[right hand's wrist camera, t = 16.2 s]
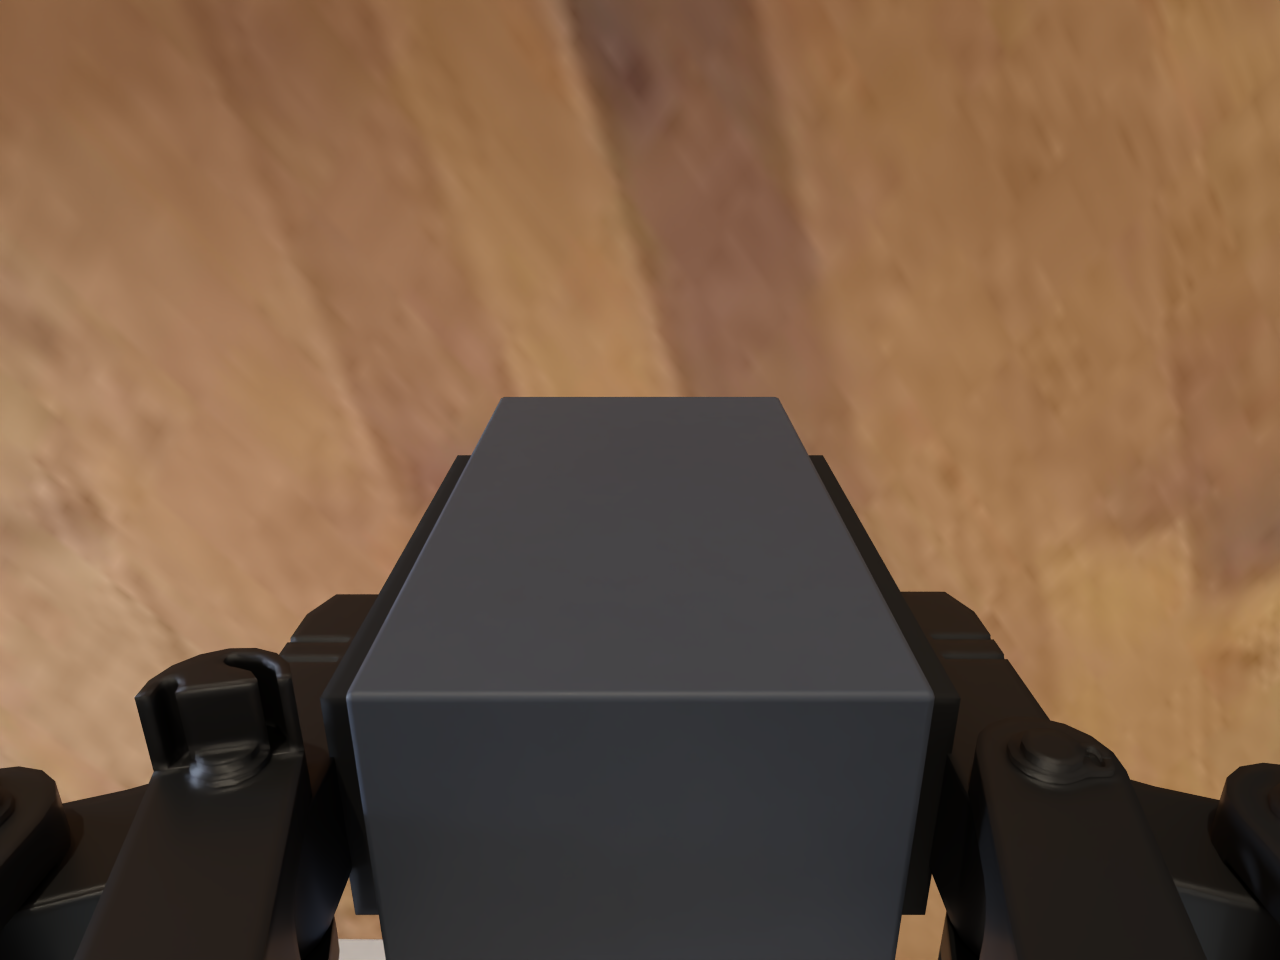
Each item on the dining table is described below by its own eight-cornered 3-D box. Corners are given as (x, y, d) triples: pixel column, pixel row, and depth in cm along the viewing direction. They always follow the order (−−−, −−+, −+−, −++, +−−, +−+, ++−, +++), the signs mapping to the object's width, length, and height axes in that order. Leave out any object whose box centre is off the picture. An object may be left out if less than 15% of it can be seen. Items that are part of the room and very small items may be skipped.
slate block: (515, 635, 16) (402, 1092, 8) (500, 395, 14) (342, 695, 6) (763, 635, 16) (877, 1091, 8) (779, 395, 14) (939, 694, 6)
